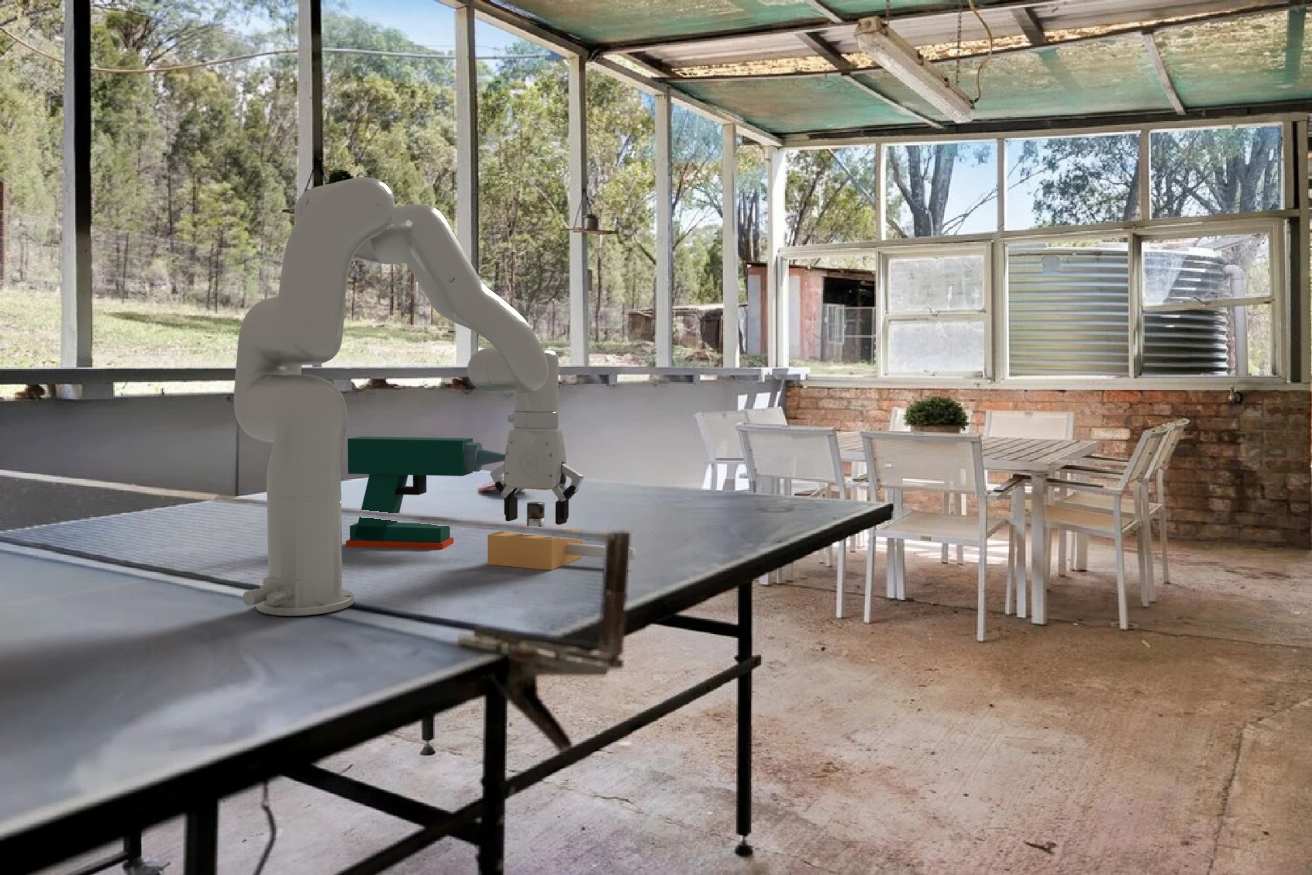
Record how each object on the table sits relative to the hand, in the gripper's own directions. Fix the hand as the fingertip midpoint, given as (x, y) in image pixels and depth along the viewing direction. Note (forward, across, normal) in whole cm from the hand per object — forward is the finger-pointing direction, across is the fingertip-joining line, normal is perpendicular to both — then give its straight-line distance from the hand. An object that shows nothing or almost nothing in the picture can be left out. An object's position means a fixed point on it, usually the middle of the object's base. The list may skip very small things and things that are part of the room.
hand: (536, 521), depth 165 cm
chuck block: (+7, +6, 0) cm, 9 cm away
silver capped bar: (+7, 0, 0) cm, 7 cm away
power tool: (+7, -24, +6) cm, 26 cm away
